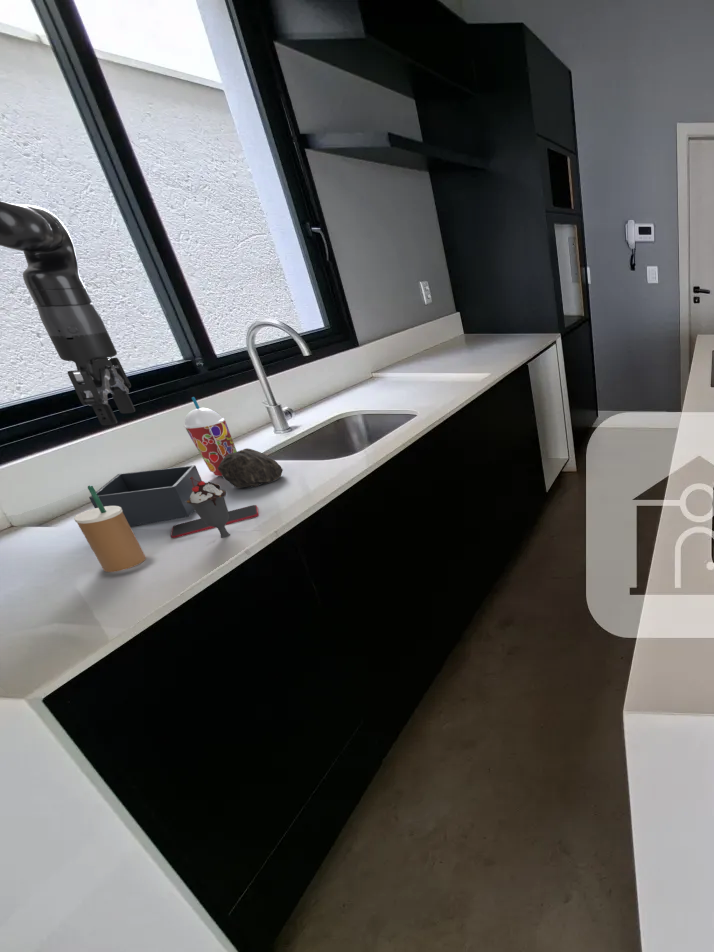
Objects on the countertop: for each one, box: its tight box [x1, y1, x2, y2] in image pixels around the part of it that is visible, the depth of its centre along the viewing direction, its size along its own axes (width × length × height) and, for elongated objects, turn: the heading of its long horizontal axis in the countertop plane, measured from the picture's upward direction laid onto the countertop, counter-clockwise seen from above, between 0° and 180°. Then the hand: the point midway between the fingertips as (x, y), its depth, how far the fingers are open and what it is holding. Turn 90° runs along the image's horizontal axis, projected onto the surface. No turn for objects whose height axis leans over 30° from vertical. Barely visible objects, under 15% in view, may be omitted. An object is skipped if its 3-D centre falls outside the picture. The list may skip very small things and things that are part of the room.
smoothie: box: [183, 396, 238, 477], centre depth 144 cm, size 8×8×20 cm
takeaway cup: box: [73, 485, 147, 573], centre depth 103 cm, size 6×6×17 cm
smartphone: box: [170, 504, 259, 539], centre depth 122 cm, size 7×1×15 cm
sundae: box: [185, 477, 231, 539], centre depth 112 cm, size 7×7×15 cm
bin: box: [88, 464, 203, 527], centre depth 126 cm, size 14×14×8 cm
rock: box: [218, 447, 284, 489], centre depth 140 cm, size 10×11×10 cm
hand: (119, 418), depth 109 cm, fingers open, 8 cm apart
